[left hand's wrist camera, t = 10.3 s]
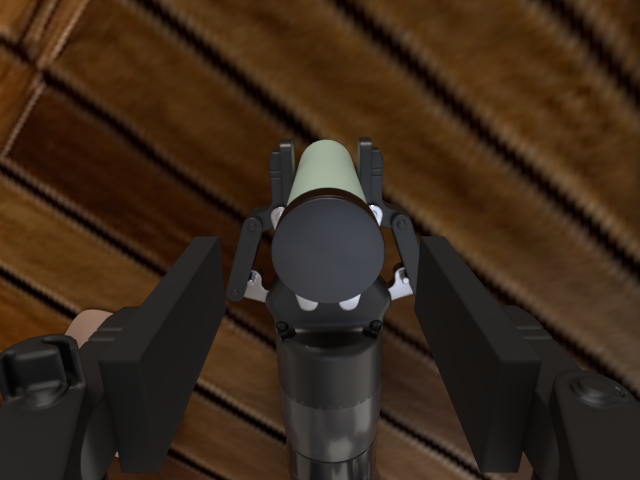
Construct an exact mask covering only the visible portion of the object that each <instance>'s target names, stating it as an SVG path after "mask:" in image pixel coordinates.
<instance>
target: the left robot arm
mask: <svg viewBox="0 0 640 480" xmlns="http://www.w3.org/2000/svg"><path fill="white" fill-rule="evenodd" d="M225 311H226V307H225V296H224V284H223V273H222V261H221V250H220V239H219V236H196V237H195V238H194V240H193V241H192V242H191V243H190V245H189V246H188V247H187V248H186V250H185V251H184V252H183V253H182V255H181V256H180V257H179V258H178V260H177V261H176V262H175V263H174V265H173V266H172V267H171V269H170V270H169V271H168V272H167V274H166V275H165V276H164V277H163V279H162V280H161V281H160V282H159V284H158V285H157V286H156V287H155V289H154V290H153V291H152V292H151V294H150V295H149V296H148V297H147V299H146V300H145V301H144V302H143V304H142V305H141V306H140V307H124V308H122V309H120V310H118V311H117V312H115V313H113V314H112V315H110V316H108V317H107V318H106V319H105V321H104V322H103V323H102V324H101V325H100V326H99V327H98V328H97V331H95V332H94V333H93V334H92V335H91V336H90V337H89V338H88V341H86V342H85V343H84V344H83V345H82V346H81V347H80V348H79V347H78V343H77V340H76V339H74V338H73V337H71V336H69V335H63V334H50V335H42V336H38V337H34V338H30V339H27V340H24V341H22V342H19V343H17V344H14V345H12V346H11V347H9V348H7V349H6V350H4V351H3V352H1V353H0V391H1V394H2V397H3V403H2V405H1V407H0V480H109V477H108V472H107V470H108V468H109V466H110V464H111V462H112V460H113V459H114V457H115V455H116V453H117V452H118V456H119V461H120V466H121V470H122V473H159V472H160V469H161V467H162V464H163V462H164V460H165V457H166V455H167V452H168V450H169V447H170V445H171V443H172V440H173V438H174V435H175V433H176V430H177V428H178V425H179V423H180V421H181V418H182V416H183V413H184V411H185V408H186V406H187V404H188V401H189V399H190V396H191V394H192V391H193V389H194V386H195V384H196V382H197V379H198V377H199V374H200V372H201V369H202V367H203V365H204V362H205V360H206V357H207V355H208V352H209V350H210V347H211V345H212V343H213V340H214V338H215V335H216V333H217V330H218V328H219V326H220V323H221V321H222V318H223V316H224V313H225ZM414 311H415V313H416V316H417V318H418V321H419V323H420V326H421V328H422V330H423V333H424V335H425V338H426V340H427V343H428V345H429V347H430V350H431V352H432V355H433V357H434V360H435V362H436V365H437V367H438V369H439V372H440V374H441V377H442V379H443V382H444V384H445V386H446V389H447V391H448V394H449V396H450V399H451V401H452V404H453V406H454V408H455V411H456V413H457V416H458V418H459V421H460V423H461V425H462V428H463V430H464V433H465V435H466V438H467V440H468V443H469V445H470V447H471V450H472V452H473V455H474V457H475V460H476V462H477V464H478V467H479V469H480V472H481V473H518V470H519V466H520V461H521V456H522V452H523V451H524V453H525V455H526V456H527V458H528V460H529V462H530V464H531V465H532V467H533V472H532V477H531V480H640V405H639V404H638V403H637V401H636V399H635V398H634V397H633V396H632V394H631V393H630V392H629V391H628V390H627V389H626V388H624V387H623V386H621V385H620V384H619V383H617V382H616V381H614V380H611V379H609V378H607V377H605V376H603V375H600V374H597V373H593V372H589V371H585V370H581V368H580V367H579V366H578V365H577V364H576V363H575V362H574V361H573V360H572V359H571V357H570V356H569V355H568V354H567V353H566V352H565V351H564V350H563V349H562V347H561V346H560V345H559V344H558V343H557V342H556V341H555V340H552V336H551V335H550V334H549V333H548V332H547V331H546V330H544V329H543V326H542V325H541V324H540V323H539V322H538V321H537V320H536V319H535V318H534V317H533V315H531V314H529V313H528V312H526V311H524V310H522V309H521V308H519V307H517V306H516V305H498V304H497V302H496V301H495V300H494V299H493V297H492V296H491V295H490V294H489V292H488V291H487V290H486V289H485V287H484V286H483V285H482V284H481V282H480V281H479V280H478V279H477V277H476V276H475V275H474V274H473V272H472V271H471V270H470V269H469V267H468V266H467V265H466V263H465V262H464V261H463V260H462V258H461V257H460V256H459V255H458V253H457V252H456V251H455V250H454V248H453V247H452V246H451V245H450V243H449V242H448V241H447V240H446V238H445V237H444V236H421V239H420V250H419V261H418V273H417V284H416V296H415V307H414Z"/></svg>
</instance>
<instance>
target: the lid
mask: <svg viewBox="0 0 640 480" xmlns="http://www.w3.org/2000/svg"><path fill="white" fill-rule="evenodd" d="M271 257H272V262H273V266H274V269H275V271H276V273H277V275H278V277H279V278H280V280H281V281H282V282H283V284H284V285H285V286H286V287H287V288H288V289H289V290H291V291H292V292H293V293H295V294H296V295H298V296H300V297H302V298H304V299H306V300H309V301H312V302H317V303H325V304H328V303H339V302H343V301H347V300H350V299H352V298H354V297H356V296H358V295H360V294H361V293H363V292H364V291H365V290H366V289H368V288H369V287H370V286H371V285H372V283H373V282H374V281H375V280H376V278H377V277H378V275H379V273H380V271H381V269H382V266H383V263H384V257H385V243H384V238H383V235H382V232H381V229H380V227H379V224H378V221H377V219H376V217H375V215H374V213H373V211H372V210H371V208H370V207H369V206H368V205H367V204H366V203H365V202H364V201H363V200H362V199H361V198H359V197H358V196H357V195H355V194H353V193H351V192H348V191H346V190H343V189H338V188H330V187H328V188H317V189H313V190H310V191H307V192H305V193H303V194H301V195H299V196H298V197H296V198H295V199H294V200H292V201H291V202H290V203H289V204H288V205H287V206H286V208H285V209H284V211H283V212H282V214H281V216H280V218H279V221H278V223H277V226H276V229H275V232H274V235H273V239H272V244H271Z"/></svg>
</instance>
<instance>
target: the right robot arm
mask: <svg viewBox="0 0 640 480" xmlns="http://www.w3.org/2000/svg"><path fill="white" fill-rule="evenodd" d="M269 168H270V183H271V197H272V202H271V203H270V204H268V205H266V206H263V207H261V208H260V207H255V208H253V209H251V211H250V212H249V214H248V217H247V218H246V219H245V221H244V223H243V226H242V230H241V234H240V238H239V242H238V246H237V250H236V254H235V258H234V261H233V265H232V269H231V273H230V277H229V281H228V285H227V289H226V296H227V298H228V299H229V300H231V301H234V302H237V301H240V300H242V299H243V297H247V298H251V299H254V300H258V301H262V302H265V303H266V307H267V309H268V310H269V312H270V313H271V315H272V316H273V319H274V322H275V334H276V348H277V362H278V376H279V390H280V403H281V412H282V416H283V420H284V424H285V429H286V443H287V457H288V469H289V475H290V479H291V480H381V478H380V475H379V472H378V469H377V467H376V431H377V430H376V429H377V422H378V418H379V413H380V404H381V373H382V341H383V319H384V316H385V313H386V312H387V310H388V309H389V307H390V305H391V301H392V300H394V299H397V298H400V297H404V296H407V295H410V294H414V296H416V284H417V273H418V261H419V250H420V249H419V246H418V242H417V239H416V236H415V232H414V229H413V226H412V222H411V220H410V218H409V216H408V215H407V213H406V212H405V210H404V209H403V207H402V206H400V205H392V204H389V203H387V202H385V201H383V200H382V177H383V176H382V175H383V158H382V155H381V152H380V150H379V149H378V148H377V147H372V141H371V139H370V138H369V137H362V138H358V141H357V177H358V179H359V182H360V185H361V188H362V191H363V194H364V196H365V199H366V202H367V205H368V206H369V207H370V208H371V210H372V211H373V213H374V215H375V217H376V219H377V221H378V224H379V226H380V225H381V226H384V227H387V228H390V229H391V231H392V234H393V237H394V240H395V243H396V246H397V249H398V253H399V256H400V259H401V262H400V263H397V264H396V265H395V266H394V267H393V277H392V279H391V280H390V281H389V282H387V283H386V282H385V281H384V279H383V278H382V277H381V276H380V274H379V275H378V277H377V278H376V280H375V281H374V282H373V283H372V285H371V286H370V287H369V288H368V289H366V290H365V291H364V292H363V293H361V294H360V295H358V296H356V297H354V298H352V299H350V300H347V301H343V302H339V303H328V304H325V303H317V302H312V301H309V300H306V299H304V298H302V297H300V296H298V295H296V294H295V293H293V292H292V291H291V290H289V289H288V288H287V287H286V286H285V285H284V284H283V282H282V281H281V280H280V278H279V277H278V275H277V276H276V277H275V279H274V280H273V282H272V283H271V284H270V285H268V284H267V283H266V282H265V281H264V280H263V271H262V269H261V268H260V267H259V266H256V265H254V263H255V260H256V256H257V252H258V249H259V245H260V241H261V238H262V234H263V232H264V231H266V230H269V229H272V228H274V229H276V226H277V223H278V221H279V218H280V216H281V214H282V212H283V211H284V209H285V208H286V206H287V203H288V200H289V197H290V193H291V190H292V187H293V183H294V180H295V160H294V141H293V139H282V140H281V141H280V145H279V149H274V150H273V152H272V154H271V157H270V160H269Z"/></svg>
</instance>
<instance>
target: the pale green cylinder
mask: <svg viewBox="0 0 640 480" xmlns="http://www.w3.org/2000/svg"><path fill="white" fill-rule="evenodd" d="M328 187H330V188H338V189H343V190H346V191H348V192H351V193H353V194H355V195H357V196H358V197H359V198H361V199H362V200H363V201H364V202H365V203H366V204H367V202H366V199H365V196H364V194H363V191H362V188H361V185H360V182H359V179H358V177H357V174H356V171H355V168H354V165H353V162H352V160H351V157H350V155H349V153H348V151H347V150H346V149H345V148H344V147H343V146H342V145H341V144H339V143H337V142H335V141H332V140H320V141H317V142H315V143H313V144H311V145H310V146H309V147H308V148H307V149H306V150H305V151H304V153H303V155H302V157H301V160H300V163H299V167H298V170H297V173H296V177H295V180H294V183H293V187H292V190H291V193H290V197H289V200H288V203H287V205H288V204H289V203H290V202H291V201H292V200H294V199H295V198H296V197H298V196H299V195H301V194H303V193H305V192H307V191H310V190H313V189H317V188H328Z"/></svg>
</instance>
